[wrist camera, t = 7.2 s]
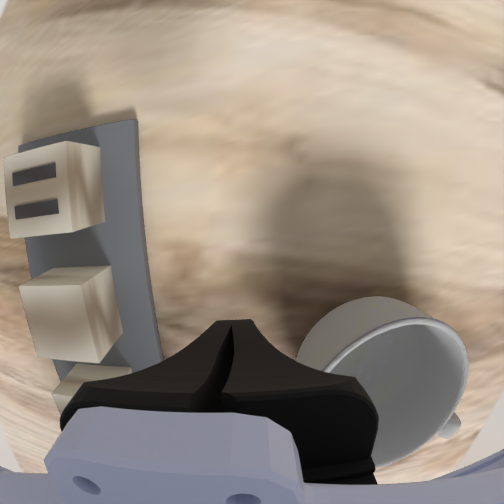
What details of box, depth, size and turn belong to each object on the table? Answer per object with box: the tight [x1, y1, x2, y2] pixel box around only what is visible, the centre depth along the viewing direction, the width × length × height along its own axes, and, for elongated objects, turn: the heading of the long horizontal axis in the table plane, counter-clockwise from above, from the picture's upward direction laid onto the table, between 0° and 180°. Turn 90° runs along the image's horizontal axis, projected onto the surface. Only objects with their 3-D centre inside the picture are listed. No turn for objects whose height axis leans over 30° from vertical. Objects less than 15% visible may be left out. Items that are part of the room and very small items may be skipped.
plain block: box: [19, 265, 123, 363], centre depth 19 cm, size 5×5×4 cm
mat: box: [19, 119, 164, 382], centre depth 22 cm, size 24×10×1 cm, turn 3°
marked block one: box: [52, 363, 133, 415], centre depth 21 cm, size 5×5×5 cm
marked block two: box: [4, 141, 105, 239], centre depth 17 cm, size 5×5×5 cm
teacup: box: [296, 296, 469, 468], centre depth 19 cm, size 14×11×8 cm
